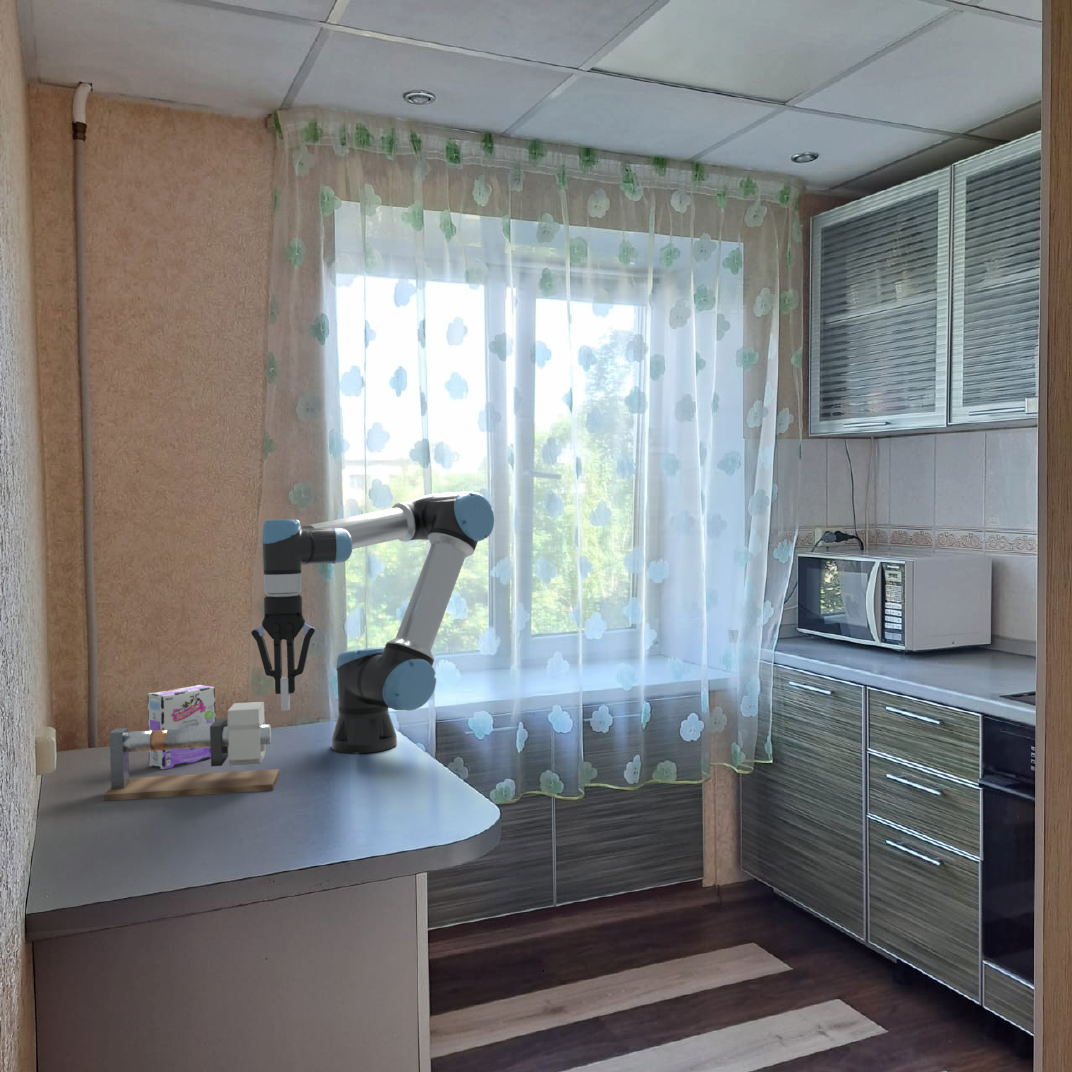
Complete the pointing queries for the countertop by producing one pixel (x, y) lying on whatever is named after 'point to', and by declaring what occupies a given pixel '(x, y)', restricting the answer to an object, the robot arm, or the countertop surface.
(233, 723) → the sleeve
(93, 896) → the countertop surface
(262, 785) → the board
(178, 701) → the candy box
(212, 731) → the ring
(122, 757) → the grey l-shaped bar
